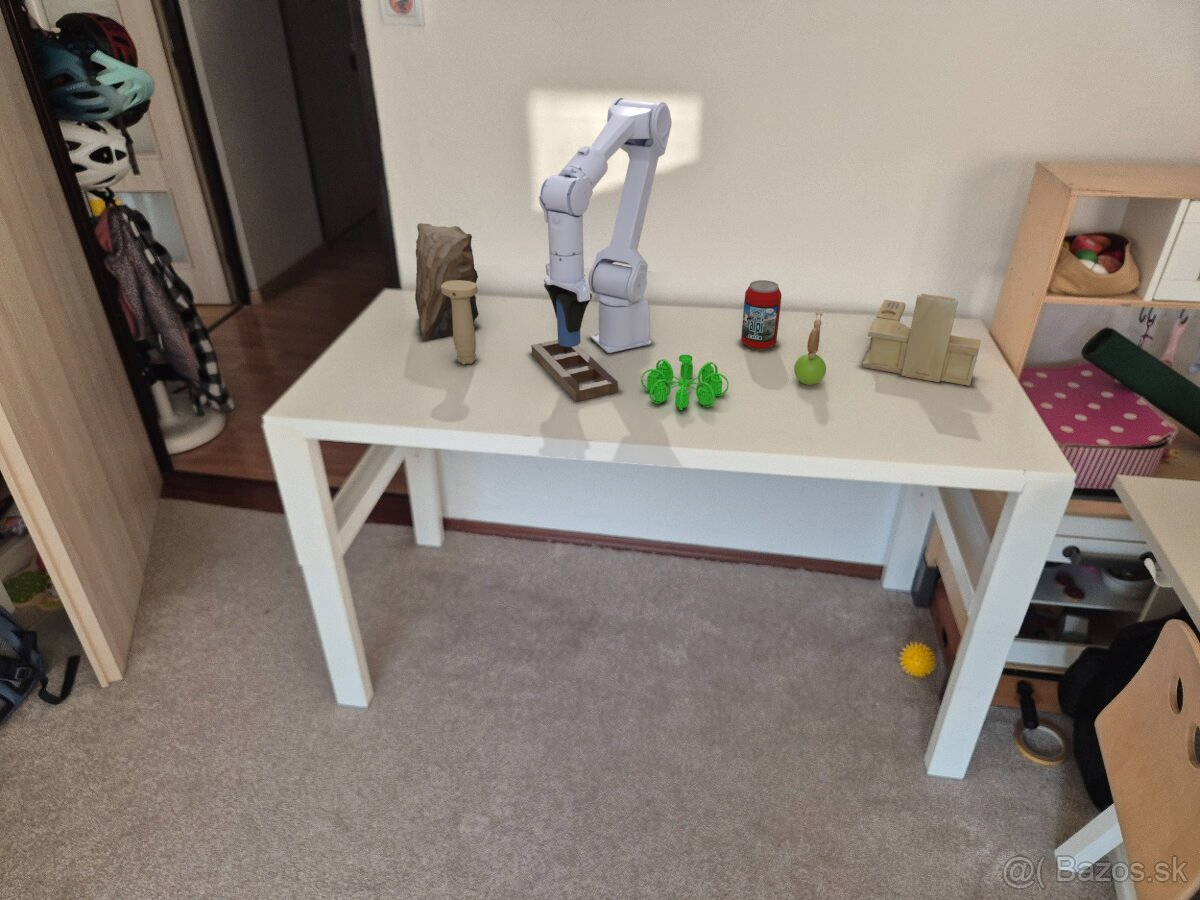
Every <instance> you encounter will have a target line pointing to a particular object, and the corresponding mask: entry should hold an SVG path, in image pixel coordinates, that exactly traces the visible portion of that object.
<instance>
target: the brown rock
mask: <svg viewBox="0 0 1200 900" xmlns="http://www.w3.org/2000/svg"><path fill="white" fill-rule="evenodd" d="M416 227H417V232H418V235H417V239H416V240H415V244H416V245H415V257H416V277H415V293H414V294H415V295H414V300H415V305H416V309H417V314H418V322H419V323H418V324H419V329H420V337H421V340H422V342H427V341H432V340H436V339H442V338H447V337H450V336H453V318H452V303H451V298H450V297H448V296H446V295H444V294H443V293H442V290H441V285H442V284H443V283H445V282H447V281H454V280H463V281H470V282H474V283H476V284H477V282H478V278H479V275H478V271H477V270H476V268H475V260H474V259H475V257H474V255H473V254H474V253H473V247H472V239H473V236H472V234H471V233H466V232H465V231H464V230H462V228H461V227H460V226H457V225H454V226H450V227H448V226H435V225H432V224H429V223H421V222H420V223H418V224H417V226H416ZM470 304H471V311H472V318H473V324H474V329H475V331H476V330H477V329H478V326H476V324H475V321H476V319H477V318H478V317H479V314H480V313H479V309H478V305H477V296H476V294H475V295H473V296H472V297H470Z"/></svg>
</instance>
